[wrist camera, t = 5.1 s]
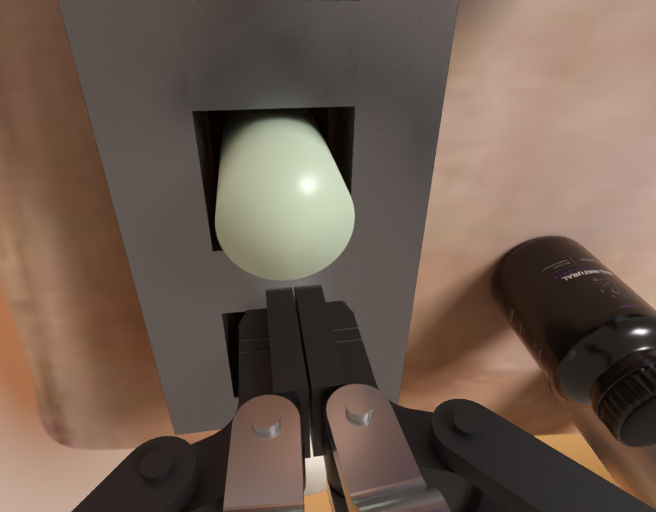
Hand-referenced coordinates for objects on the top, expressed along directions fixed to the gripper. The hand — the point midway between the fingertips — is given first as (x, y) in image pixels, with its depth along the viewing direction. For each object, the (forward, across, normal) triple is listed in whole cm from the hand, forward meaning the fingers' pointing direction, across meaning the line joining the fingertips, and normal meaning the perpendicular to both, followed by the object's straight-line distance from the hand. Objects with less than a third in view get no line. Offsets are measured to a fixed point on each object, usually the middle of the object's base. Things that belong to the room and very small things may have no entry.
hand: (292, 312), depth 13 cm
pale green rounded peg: (+12, 0, -1) cm, 12 cm away
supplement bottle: (+14, -18, +10) cm, 25 cm away
